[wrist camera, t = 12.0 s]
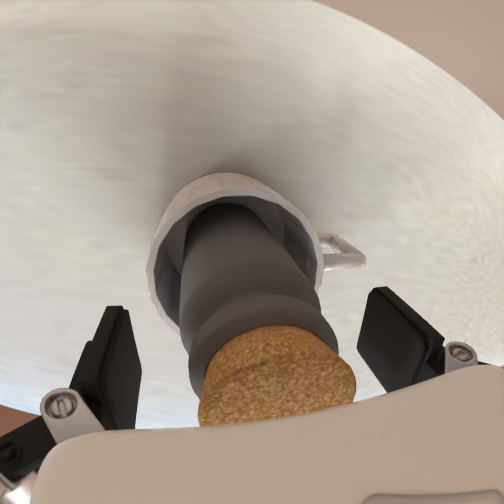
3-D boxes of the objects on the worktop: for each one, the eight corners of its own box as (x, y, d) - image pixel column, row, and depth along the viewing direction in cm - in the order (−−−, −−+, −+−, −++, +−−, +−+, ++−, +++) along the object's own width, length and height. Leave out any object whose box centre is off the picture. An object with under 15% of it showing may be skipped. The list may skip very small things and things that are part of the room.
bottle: (272, 206, 21) (402, 329, 7) (260, 282, 23) (338, 452, 9) (188, 197, 20) (176, 331, 6) (182, 277, 22) (179, 466, 8)
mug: (166, 296, 23) (159, 354, 16) (157, 174, 19) (138, 191, 13) (323, 286, 25) (362, 333, 18) (334, 174, 22) (387, 190, 15)
